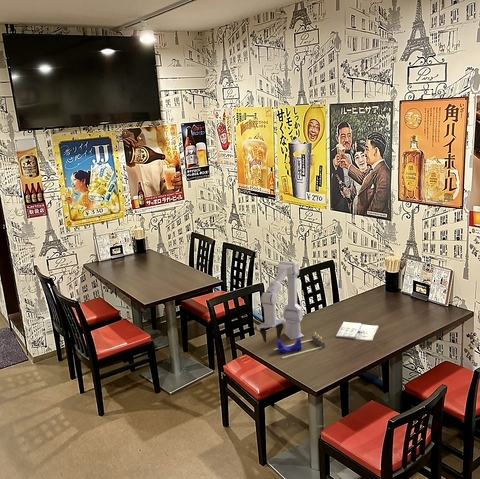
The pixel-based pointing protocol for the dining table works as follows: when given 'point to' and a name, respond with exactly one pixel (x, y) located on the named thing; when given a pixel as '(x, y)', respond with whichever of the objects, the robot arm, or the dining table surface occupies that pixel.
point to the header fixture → (314, 338)
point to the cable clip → (285, 349)
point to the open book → (352, 331)
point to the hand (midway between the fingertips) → (271, 339)
